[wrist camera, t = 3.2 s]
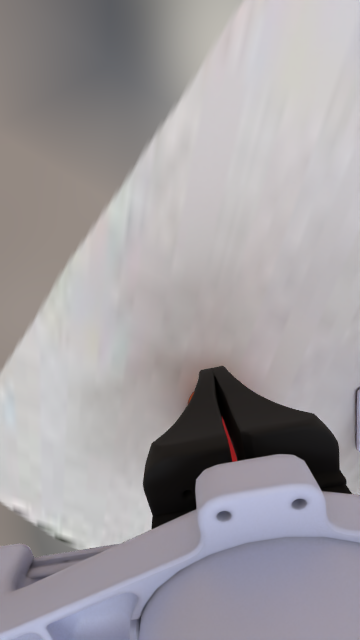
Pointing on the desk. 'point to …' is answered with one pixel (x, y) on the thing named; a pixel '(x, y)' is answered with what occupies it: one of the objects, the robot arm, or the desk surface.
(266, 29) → the desk surface
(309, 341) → the desk surface
